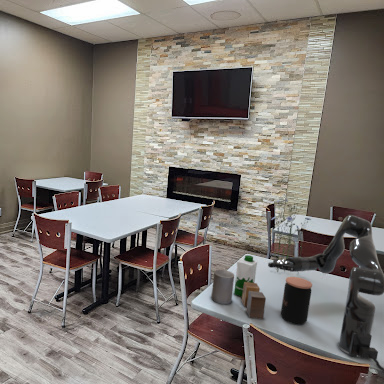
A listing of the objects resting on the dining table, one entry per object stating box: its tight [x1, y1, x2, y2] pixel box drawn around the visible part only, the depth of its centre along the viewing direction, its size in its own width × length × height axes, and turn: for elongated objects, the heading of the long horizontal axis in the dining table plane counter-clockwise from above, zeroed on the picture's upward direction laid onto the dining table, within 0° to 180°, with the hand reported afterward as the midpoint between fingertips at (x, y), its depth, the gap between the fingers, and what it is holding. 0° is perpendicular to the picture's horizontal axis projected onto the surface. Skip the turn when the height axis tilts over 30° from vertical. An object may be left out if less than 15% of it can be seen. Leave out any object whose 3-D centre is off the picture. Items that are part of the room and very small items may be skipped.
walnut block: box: [246, 291, 267, 320], centre depth 153 cm, size 6×6×10 cm
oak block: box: [241, 282, 261, 308], centre depth 163 cm, size 6×6×10 cm
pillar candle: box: [211, 269, 235, 305], centre depth 166 cm, size 10×10×15 cm
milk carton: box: [233, 254, 258, 298], centre depth 172 cm, size 9×9×20 cm
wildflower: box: [270, 198, 312, 274], centre depth 207 cm, size 22×23×45 cm
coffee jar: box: [280, 276, 313, 326], centre depth 150 cm, size 11×11×18 cm
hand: (269, 265), depth 174 cm, fingers closed
